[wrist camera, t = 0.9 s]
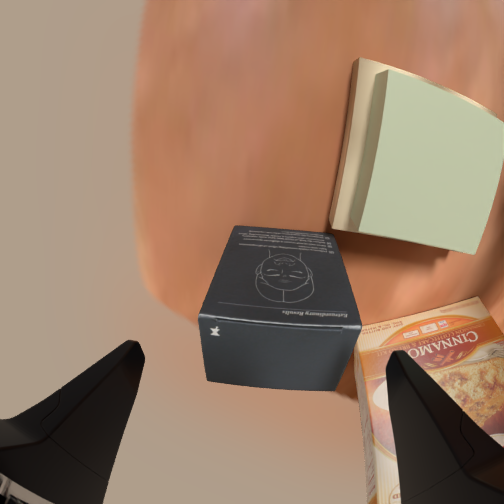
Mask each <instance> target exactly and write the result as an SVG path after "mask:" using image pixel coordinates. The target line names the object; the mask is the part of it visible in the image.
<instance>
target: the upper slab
mask: <svg viewBox="0 0 504 504" xmlns="http://www.w3.org/2000/svg"><path fill="white" fill-rule="evenodd" d="M503 160H504V122H502V121H501V120H499V119H497V118H496V117H494V116H492V115H491V114H489V113H487V112H486V111H484V110H482V109H480V108H478V107H477V106H475V105H473V104H471V103H469V102H467V101H465V100H463V99H461V98H459V97H457V96H455V95H453V94H451V93H449V92H447V91H444V90H442V89H440V88H438V87H435V86H433V85H431V84H428V83H426V82H423V81H421V80H418V79H415V78H413V77H410V76H407V75H405V74H402V73H399V72H396V71H393V70H390V69H388V70H385V71H383V72H380V73H378V74H376V77H375V85H374V93H373V101H372V108H371V115H370V122H369V128H368V134H367V140H366V146H365V151H364V156H363V162H362V167H361V172H360V177H359V181H358V186H357V191H356V195H355V200H354V204H353V208H352V212H351V219H352V220H353V222H354V224H355V226H356V228H357V230H358V231H360V232H365V233H371V234H376V235H381V236H387V237H392V238H397V239H402V240H407V241H412V242H417V243H422V244H427V245H432V246H436V247H441V248H446V249H450V250H455V251H459V252H464V253H468V254H472V255H475V253H476V250H477V248H478V245H479V243H480V240H481V237H482V235H483V232H484V229H485V226H486V223H487V220H488V217H489V214H490V211H491V208H492V204H493V201H494V197H495V194H496V190H497V186H498V182H499V178H500V174H501V169H502V165H503Z"/></svg>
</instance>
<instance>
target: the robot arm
mask: <svg viewBox="0 0 504 504" xmlns="http://www.w3.org/2000/svg"><path fill="white" fill-rule="evenodd" d="M144 363H145V356H144V353H143V351H142V348H141V346H140V344H139V342H138V341H133V340H127V341H125V342H124V343H123V344H121V345H120V346H118V347H117V348H116V349H114V350H113V351H112V352H110V353H109V354H107V355H106V356H105V357H103V358H102V359H100V360H99V361H98V362H97V363H95V364H93V365H92V366H91V367H89V368H88V369H86V370H85V371H84V372H82V373H81V374H80V375H78V376H77V377H75V378H74V379H73V380H71V381H70V382H68V383H67V384H66V385H64V386H63V387H62V388H61V389H59V390H57V391H56V392H54V393H53V394H52V395H50V396H49V397H47V398H46V399H44V400H43V401H41V402H39V403H38V404H36V405H34V406H33V407H31V408H29V409H27V410H26V411H24V412H22V413H20V414H19V415H17V416H15V417H13V418H10V419H3V420H2V419H0V504H103V500H104V497H105V493H106V489H107V486H108V481H109V478H110V475H111V471H112V468H113V465H114V462H115V458H116V455H117V452H118V449H119V446H120V442H121V439H122V436H123V433H124V430H125V427H126V424H127V421H128V418H129V416H130V413H131V410H132V407H133V404H134V401H135V398H136V395H137V392H138V387H139V383H140V379H141V375H142V371H143V367H144ZM386 381H387V393H388V405H389V413H390V419H391V424H392V430H393V437H394V443H395V450H396V458H397V466H398V474H399V484H400V496H401V504H504V447H502V446H501V445H500V444H499V443H498V442H497V441H495V440H494V439H493V438H492V437H491V436H490V435H488V434H487V433H486V432H485V431H484V430H483V429H482V428H481V427H480V426H478V425H477V424H476V423H475V422H474V421H473V420H472V419H471V418H470V417H469V416H468V414H467V413H466V412H465V411H463V409H462V408H461V407H460V406H459V405H458V404H457V403H456V402H455V401H454V400H453V399H452V398H451V397H450V396H449V395H448V394H447V393H446V392H445V391H444V390H443V389H442V387H441V386H440V385H439V384H438V383H437V382H436V381H435V380H434V379H433V378H432V377H431V376H430V375H429V374H428V373H427V372H426V371H425V370H424V369H423V368H422V367H421V366H420V365H419V364H418V363H417V362H416V361H415V360H414V359H413V358H412V357H411V356H410V355H409V354H408V353H407V352H406V351H404V350H394V351H393V352H392V353H391V355H390V358H389V360H388V362H387V365H386Z"/></svg>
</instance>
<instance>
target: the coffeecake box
mask: <svg viewBox="0 0 504 504" xmlns="http://www.w3.org/2000/svg"><path fill="white" fill-rule="evenodd" d="M394 350H404V351H406V352H407V353H408V354H409V355H410V356H411V357H412V358H413V359H414V360H415V361H416V362H417V363H418V364H419V365H420V366H421V367H422V368H423V369H424V370H425V371H426V372H427V373H428V374H429V375H430V376H431V377H432V378H433V379H434V380H435V381H436V382H437V383H438V384H439V385H440V386H441V387H442V389H443V390H444V391H445V392H446V393H447V394H448V395H449V396H450V397H451V398H452V399H453V400H454V401H455V402H456V403H457V404H458V405H459V406H460V407H461V408H462V409H463V411H465V412H466V413H467V414H468V416H469V417H470V418H471V419H472V420H473V421H474V422H475V423H476V424H477V425H478V426H480V427H481V428H482V429H483V430H484V431H485V432H486V433H487V434H488V435H490V436H491V437H492V438H493V439H494V440H495V441H497V442H498V443H499V444H500V445H501V446H502V447H504V335H503V333H502V332H501V330H500V328H499V327H498V325H497V324H496V322H495V321H494V319H493V318H492V316H491V315H490V313H489V312H488V310H487V309H486V307H485V306H484V305H483V303H482V302H481V300H480V299H479V297H478V296H477V297H473V298H470V299H467V300H464V301H461V302H458V303H454V304H451V305H447V306H444V307H440V308H437V309H433V310H429V311H426V312H422V313H418V314H414V315H410V316H406V317H402V318H397V319H393V320H389V321H384V322H379V323H375V324H370V325H365V326H362V330H361V333H360V335H359V337H358V339H357V342H356V344H355V347H354V373H355V380H356V387H357V394H358V401H359V407H360V417H361V425H362V434H363V444H364V456H365V470H366V487H367V504H401V496H400V484H399V474H398V466H397V458H396V450H395V443H394V437H393V430H392V424H391V419H390V413H389V405H388V393H387V381H386V365H387V362H388V360H389V358H390V355H391V353H392V352H393V351H394Z"/></svg>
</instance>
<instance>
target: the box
mask: <svg viewBox="0 0 504 504" xmlns="http://www.w3.org/2000/svg"><path fill="white" fill-rule="evenodd" d="M198 324H199V330H200V336H201V344H202V352H203V358H204V366H205V372H206V378H207V381H211V382H217V383H225V384H233V385H241V386H249V387H259V388H271V389H285V390H305V391H306V390H307V391H335V390H336V387H337V385H338V383H339V381H340V379H341V377H342V375H343V373H344V370H345V368H346V366H347V363H348V361H349V359H350V356H351V354H352V351H353V349H354V347H355V344H356V342H357V339H358V337H359V335H360V333H361V330H362V322H361V319H360V315H359V311H358V308H357V304H356V301H355V298H354V295H353V292H352V288H351V285H350V282H349V279H348V275H347V272H346V269H345V266H344V263H343V260H342V257H341V254H340V252H339V248H338V245H337V243H336V240H335V237H334V235H333V234H330V233H322V232H310V231H300V230H288V229H276V228H263V227H250V226H234V228H233V231H232V233H231V235H230V238H229V240H228V243H227V245H226V247H225V250H224V252H223V255H222V257H221V260H220V262H219V265H218V267H217V269H216V272H215V275H214V277H213V280H212V282H211V284H210V287H209V290H208V292H207V295H206V297H205V300H204V302H203V305H202V308H201V310H200V312H199V315H198Z"/></svg>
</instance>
